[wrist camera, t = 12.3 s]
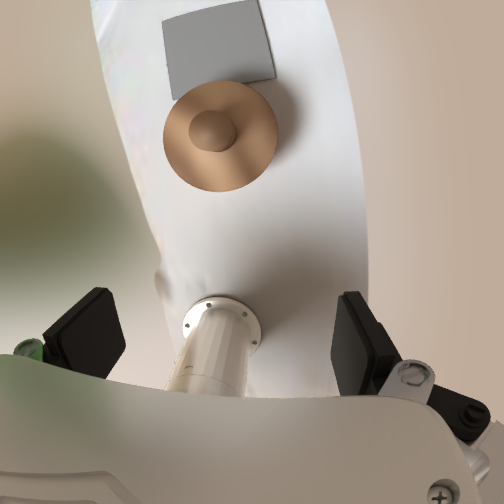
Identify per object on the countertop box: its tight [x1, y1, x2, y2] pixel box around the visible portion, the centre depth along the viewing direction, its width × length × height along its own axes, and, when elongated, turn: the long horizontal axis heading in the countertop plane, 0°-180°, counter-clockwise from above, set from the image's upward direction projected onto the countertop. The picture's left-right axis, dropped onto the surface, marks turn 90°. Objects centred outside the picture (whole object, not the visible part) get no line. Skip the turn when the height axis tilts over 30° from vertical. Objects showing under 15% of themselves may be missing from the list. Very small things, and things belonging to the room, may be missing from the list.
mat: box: [162, 0, 276, 100], centre depth 30 cm, size 14×14×1 cm
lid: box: [163, 80, 278, 192], centre depth 27 cm, size 13×13×6 cm
